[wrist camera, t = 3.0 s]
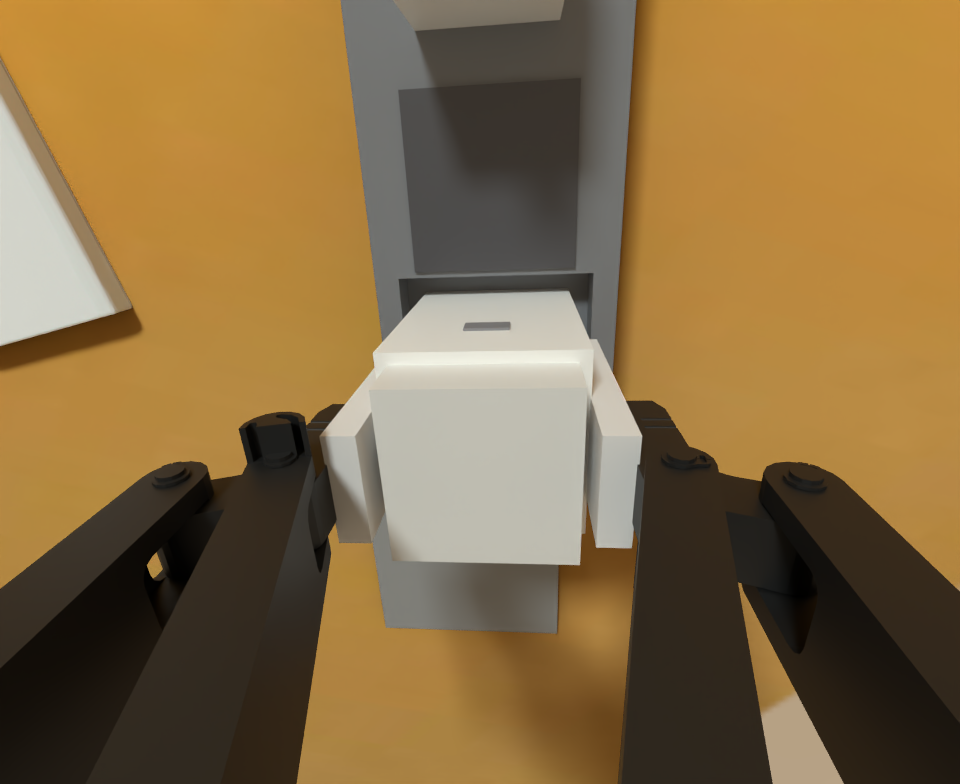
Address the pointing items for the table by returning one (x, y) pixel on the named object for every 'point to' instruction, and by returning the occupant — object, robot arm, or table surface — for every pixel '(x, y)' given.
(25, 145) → the external hard drive
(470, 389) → the block
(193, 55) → the table surface
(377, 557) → the mat
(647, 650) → the robot arm
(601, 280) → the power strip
